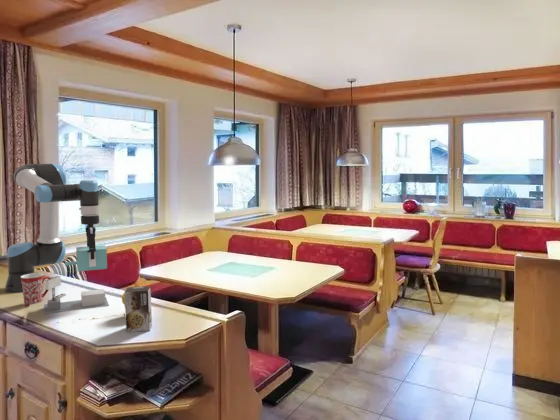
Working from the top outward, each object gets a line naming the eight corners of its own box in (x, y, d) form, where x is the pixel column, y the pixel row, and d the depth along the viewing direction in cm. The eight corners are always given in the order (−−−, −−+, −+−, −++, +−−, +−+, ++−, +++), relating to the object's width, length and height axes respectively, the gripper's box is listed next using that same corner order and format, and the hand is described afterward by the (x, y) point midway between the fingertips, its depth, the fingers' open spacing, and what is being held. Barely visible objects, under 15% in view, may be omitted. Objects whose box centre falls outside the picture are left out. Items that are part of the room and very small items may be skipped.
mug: (25, 308, 202) (23, 279, 201) (19, 304, 209) (18, 275, 207) (55, 302, 211) (54, 274, 210) (49, 298, 217) (47, 270, 216)
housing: (44, 306, 204) (43, 293, 204) (105, 299, 216) (105, 286, 215) (43, 317, 191) (43, 302, 190) (109, 308, 202) (108, 295, 202)
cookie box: (152, 325, 182) (151, 285, 180) (149, 331, 175) (148, 290, 174) (128, 326, 181) (127, 286, 179) (125, 332, 174) (124, 291, 173)
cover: (64, 267, 204) (64, 248, 204) (105, 264, 212) (104, 245, 211) (65, 272, 196) (64, 252, 195) (107, 268, 203) (106, 248, 202)
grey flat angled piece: (45, 302, 195) (44, 280, 194) (62, 295, 206) (61, 274, 205) (49, 302, 195) (48, 280, 194) (66, 295, 206) (65, 274, 205)
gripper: (79, 212, 211) (81, 259, 213) (82, 218, 191) (84, 270, 193) (96, 212, 214) (98, 258, 216) (101, 217, 194) (103, 268, 196)
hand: (91, 263), depth 205 cm, fingers closed on cover, 10 cm apart
